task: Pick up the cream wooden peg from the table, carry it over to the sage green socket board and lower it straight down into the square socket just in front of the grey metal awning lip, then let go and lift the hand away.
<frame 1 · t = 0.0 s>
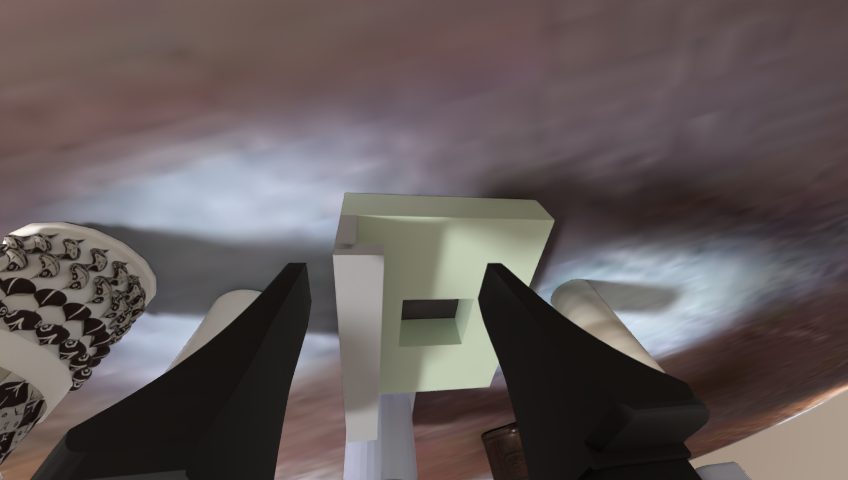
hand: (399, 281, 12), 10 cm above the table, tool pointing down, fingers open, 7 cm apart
socket board: (429, 297, 27), on the table
pepper mill: (501, 439, 47), on the table
peg: (570, 294, 30), on the table
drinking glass: (252, 307, 26), on the table
decorative candle: (88, 271, 22), on the table
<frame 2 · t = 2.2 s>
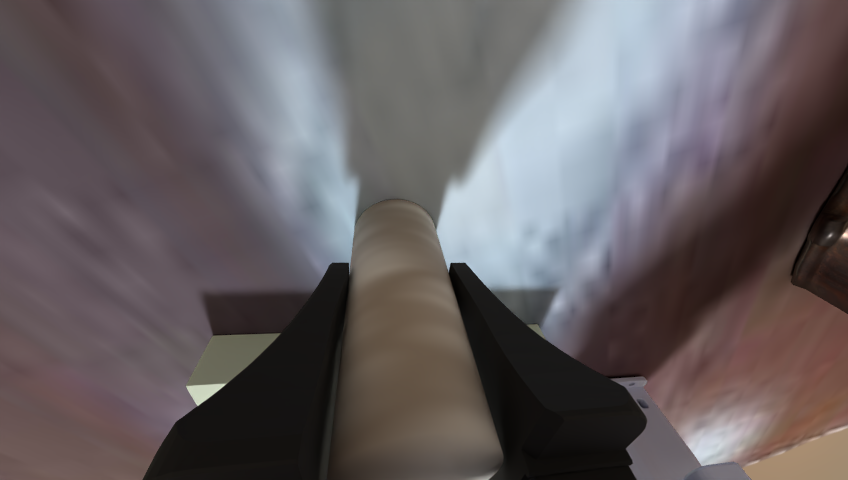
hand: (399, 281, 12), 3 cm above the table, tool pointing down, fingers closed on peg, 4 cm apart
socket board: (385, 391, 23), on the table
peg: (395, 235, 15), on the table, touching gripper
when the fingers open (4 cm above the table, at t = 6.3 s): peg stays where it is, resting in socket board.
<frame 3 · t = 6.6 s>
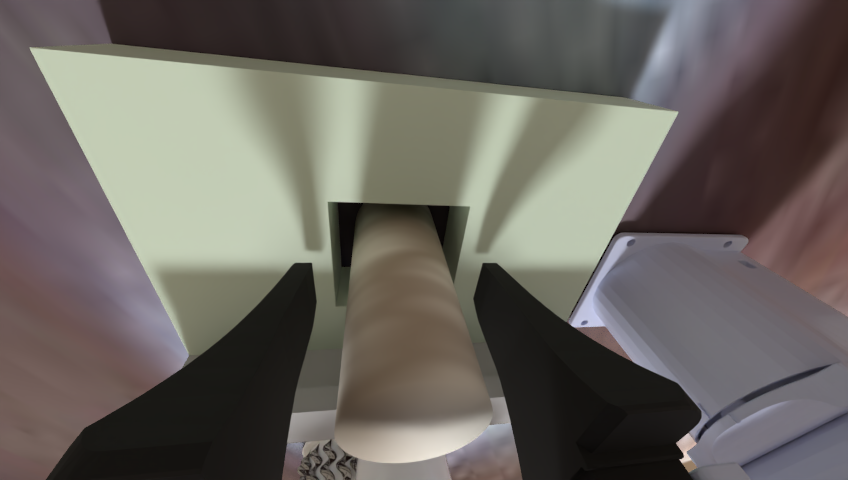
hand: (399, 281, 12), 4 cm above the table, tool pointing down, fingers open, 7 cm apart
socket board: (394, 225, 16), on the table
peg: (394, 225, 16), resting in socket board
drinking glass: (397, 382, 25), on the table
decorative candle: (349, 444, 29), on the table
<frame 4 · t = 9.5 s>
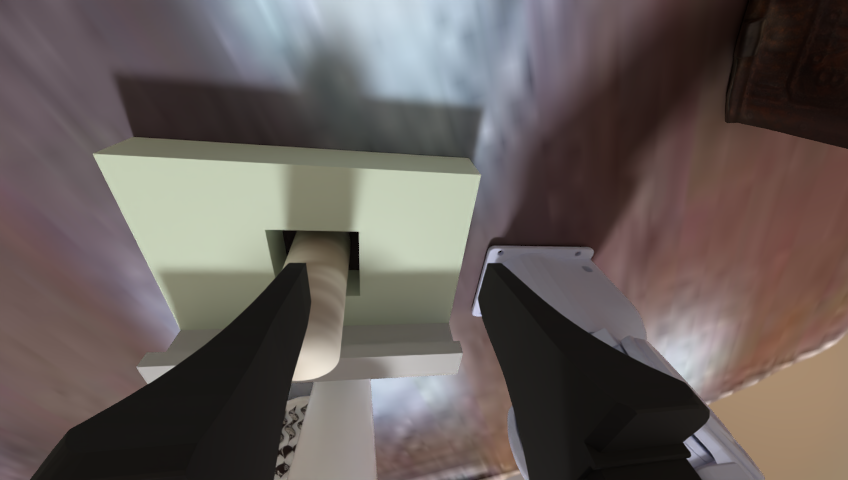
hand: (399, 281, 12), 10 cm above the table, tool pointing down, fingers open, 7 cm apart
socket board: (323, 241, 23), on the table
pepper mill: (800, 56, 20), on the table
peg: (323, 241, 23), resting in socket board
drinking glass: (345, 360, 31), on the table
decorative candle: (313, 413, 36), on the table
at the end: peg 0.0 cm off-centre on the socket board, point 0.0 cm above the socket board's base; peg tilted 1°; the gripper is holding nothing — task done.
